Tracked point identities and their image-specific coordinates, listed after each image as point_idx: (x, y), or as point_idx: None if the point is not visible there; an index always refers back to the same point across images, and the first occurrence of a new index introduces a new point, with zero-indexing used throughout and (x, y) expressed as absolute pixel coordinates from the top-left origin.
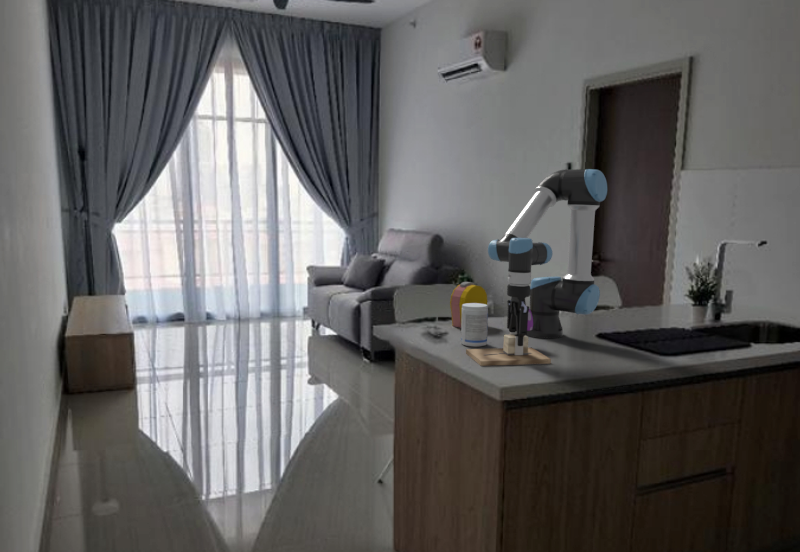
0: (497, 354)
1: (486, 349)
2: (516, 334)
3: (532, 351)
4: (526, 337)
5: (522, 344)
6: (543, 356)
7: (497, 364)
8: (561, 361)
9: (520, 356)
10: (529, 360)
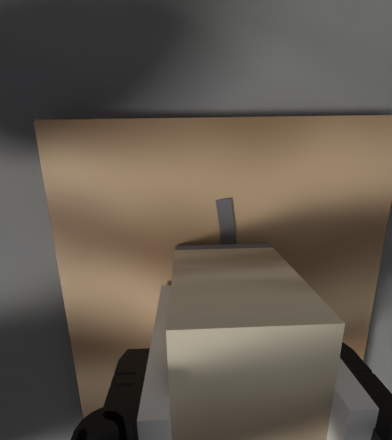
0: None
1: None
2: (171, 409)
3: (170, 166)
4: (340, 346)
5: (353, 354)
6: (325, 141)
7: None
8: (350, 4)
9: None
10: (376, 270)
